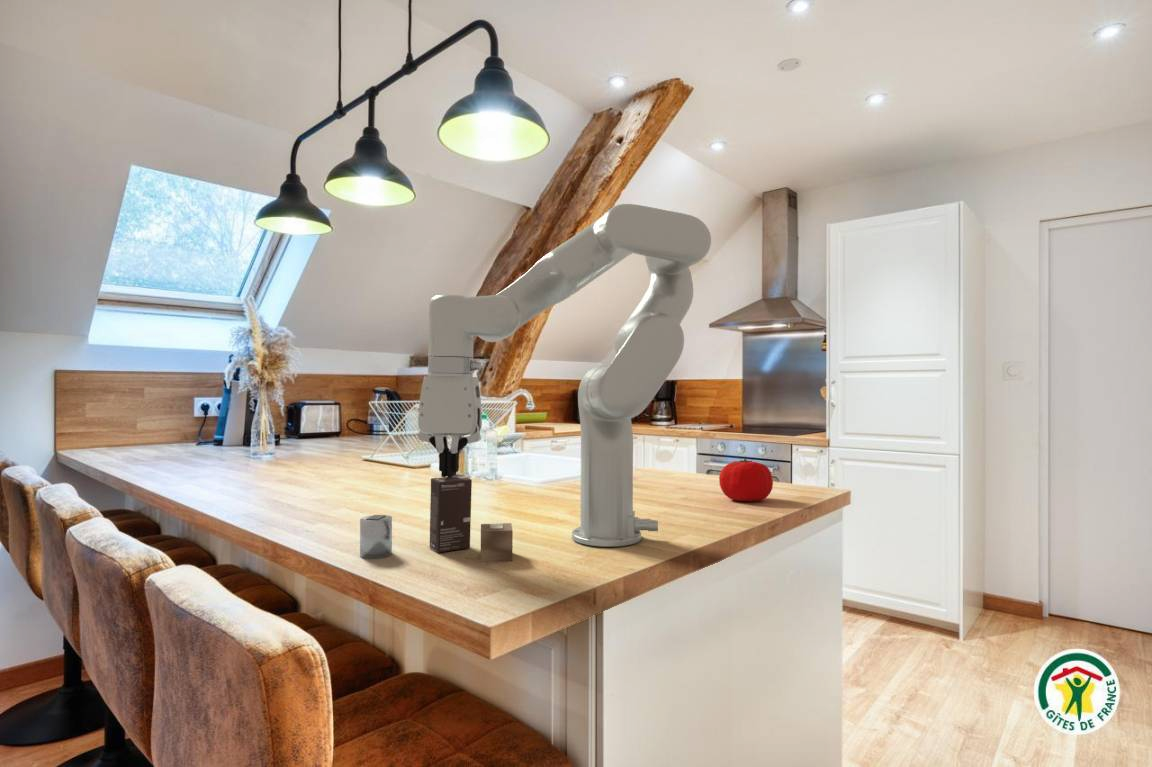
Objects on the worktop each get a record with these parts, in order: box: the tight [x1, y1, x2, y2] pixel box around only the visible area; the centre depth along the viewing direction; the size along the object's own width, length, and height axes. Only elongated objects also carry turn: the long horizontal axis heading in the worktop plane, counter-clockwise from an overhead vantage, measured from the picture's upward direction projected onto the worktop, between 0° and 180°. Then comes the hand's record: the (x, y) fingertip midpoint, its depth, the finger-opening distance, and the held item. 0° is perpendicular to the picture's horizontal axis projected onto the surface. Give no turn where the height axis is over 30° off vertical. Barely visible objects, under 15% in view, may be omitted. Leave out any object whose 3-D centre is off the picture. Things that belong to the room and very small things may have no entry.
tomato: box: [718, 458, 774, 502], centre depth 149 cm, size 11×13×10 cm
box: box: [429, 475, 473, 554], centre depth 105 cm, size 6×4×12 cm
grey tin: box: [359, 514, 393, 560], centre depth 101 cm, size 5×5×6 cm
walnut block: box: [480, 522, 513, 563], centre depth 100 cm, size 5×5×5 cm
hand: (448, 475), depth 105 cm, fingers closed
